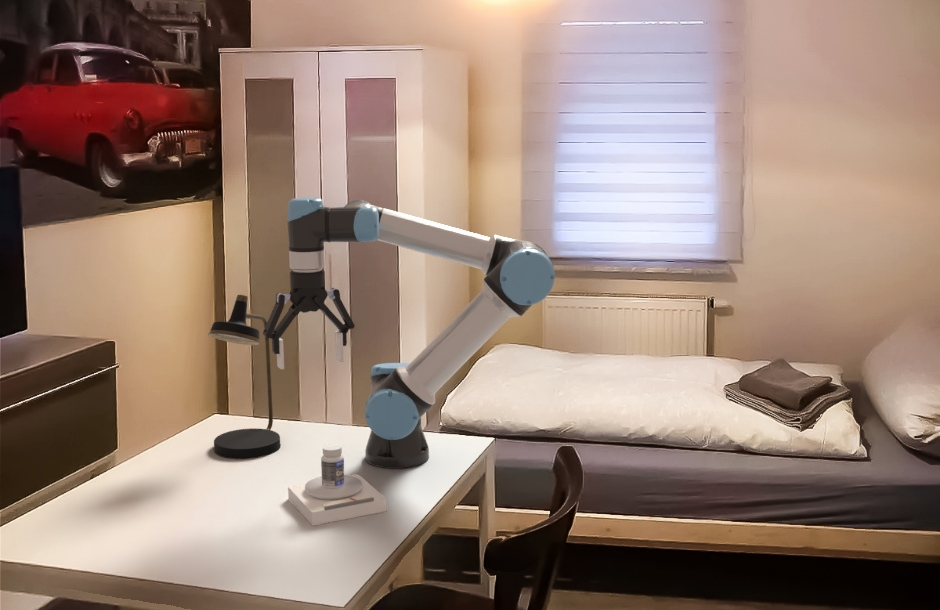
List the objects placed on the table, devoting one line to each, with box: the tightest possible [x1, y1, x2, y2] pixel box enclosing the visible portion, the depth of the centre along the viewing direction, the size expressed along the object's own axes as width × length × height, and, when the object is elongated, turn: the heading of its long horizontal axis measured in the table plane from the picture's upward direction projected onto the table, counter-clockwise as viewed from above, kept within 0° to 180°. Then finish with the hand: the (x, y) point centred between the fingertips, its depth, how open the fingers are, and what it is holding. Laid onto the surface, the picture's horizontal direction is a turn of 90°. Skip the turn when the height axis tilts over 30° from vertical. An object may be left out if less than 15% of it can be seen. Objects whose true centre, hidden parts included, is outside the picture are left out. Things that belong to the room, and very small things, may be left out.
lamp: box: [208, 294, 282, 460], centre depth 254 cm, size 16×22×38 cm
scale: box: [287, 473, 387, 526], centre depth 220 cm, size 16×16×4 cm
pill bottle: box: [320, 444, 345, 488], centre depth 220 cm, size 5×5×8 cm
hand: (310, 364), depth 230 cm, fingers open, 13 cm apart
